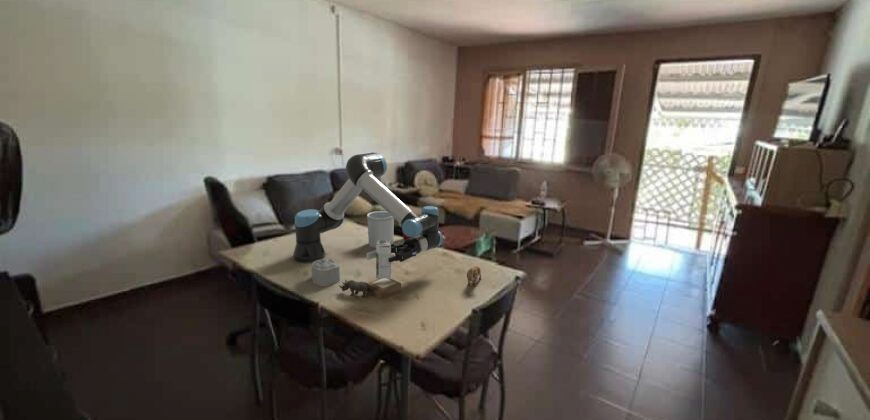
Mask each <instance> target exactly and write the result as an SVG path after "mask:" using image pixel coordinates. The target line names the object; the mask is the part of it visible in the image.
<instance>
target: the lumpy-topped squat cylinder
mask: <svg viewBox="0 0 870 420" xmlns="http://www.w3.org/2000/svg"><path fill="white" fill-rule="evenodd" d="M311 278H312V279H311V280H312V283H313V284H315V285H317V286H320V287H329V286H331V285H334V284H337V283H340V282H341V267H340V263H338V262H337V261H336V260H335V259H334V258H331V259H327V258H325V257H324V258H322V259H320V260H317V261H312V262H311Z"/></svg>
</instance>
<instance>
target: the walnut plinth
mask: <svg viewBox="0 0 870 420" xmlns="http://www.w3.org/2000/svg"><path fill="white" fill-rule="evenodd" d="M367 283H368V284H369V288H370V292H371V293H370V294H371V296H374V297H376V298H379V299H380V300H385V299H388V298H391V297H393V296H395V295H397V294H400V293H402V282H399V281H397V280H395V279H393V278H391V277H390V278H379V279H377V278H376V279H374V280H372V281H369V282H367Z"/></svg>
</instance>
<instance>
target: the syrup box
mask: <svg viewBox="0 0 870 420" xmlns="http://www.w3.org/2000/svg"><path fill="white" fill-rule="evenodd" d="M375 251H376V258H375V261H376V263H375V266H376V267H375V268H376V269H375V270H376V271H375V272H376V276H375V278H376V279H379V278H391V275H392V274H391V273H392V262H391V263H388V264H385V265H381V258H384V257H387V256H389V255H392V253H391V240H377V244H376V248H375Z"/></svg>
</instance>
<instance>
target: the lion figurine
mask: <svg viewBox="0 0 870 420" xmlns="http://www.w3.org/2000/svg"><path fill="white" fill-rule="evenodd" d="M481 272H482V271H481V267H479V265H477V266H473V267H471V268H469V269H468V270H467V272H466V279H467V285H466V286H467V287H470V286H471V282H472V286H473V287H474V288H476V287H477V283H476V282H477V279H478V280H482V274H481Z"/></svg>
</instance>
